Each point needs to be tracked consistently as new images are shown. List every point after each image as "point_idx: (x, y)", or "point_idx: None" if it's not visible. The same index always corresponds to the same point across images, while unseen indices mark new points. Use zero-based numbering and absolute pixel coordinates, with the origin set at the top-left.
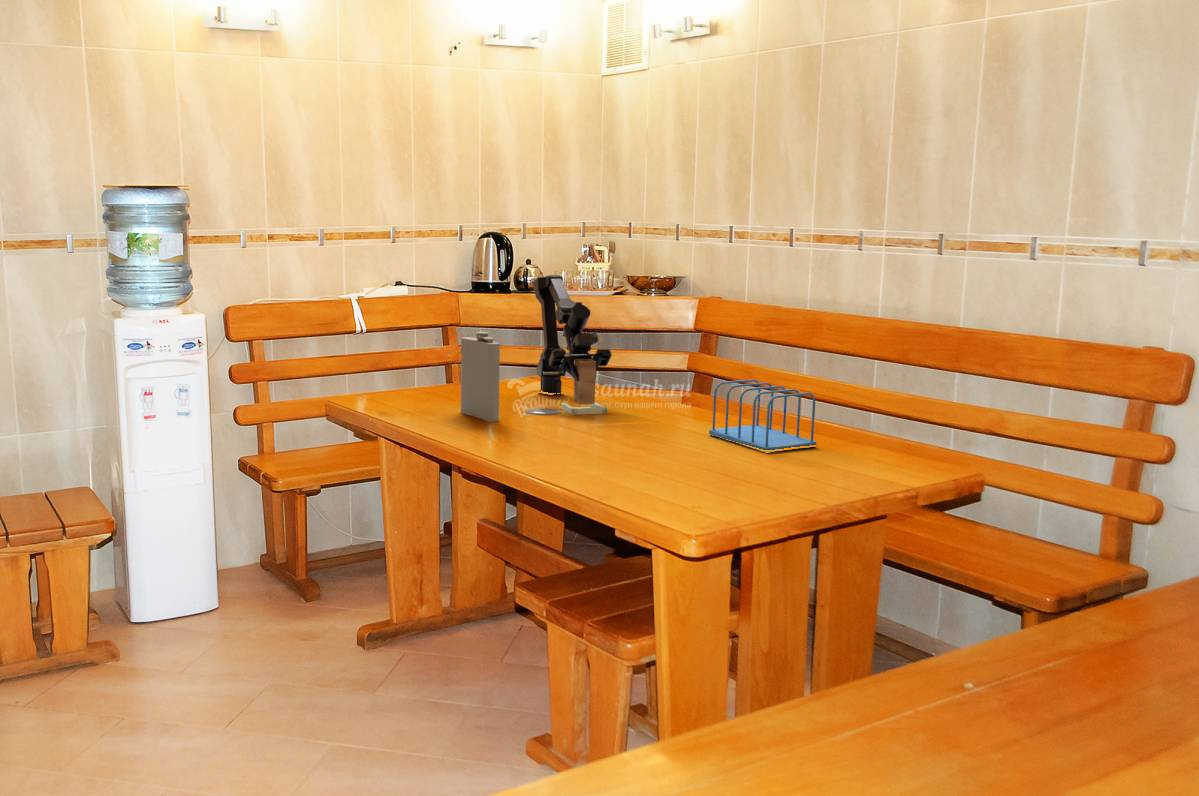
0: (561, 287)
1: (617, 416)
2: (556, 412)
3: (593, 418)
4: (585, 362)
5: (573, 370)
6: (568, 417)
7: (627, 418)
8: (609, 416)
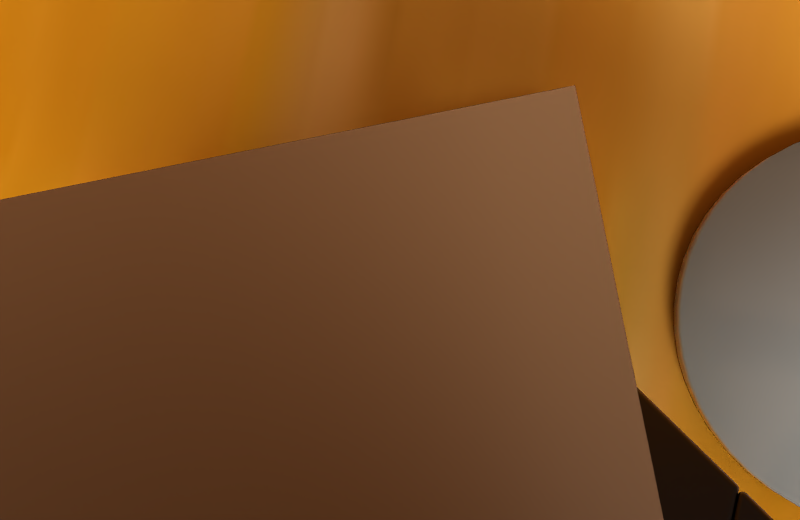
0: None
1: (137, 150)
2: (735, 258)
3: (378, 53)
4: (228, 164)
5: (712, 464)
6: (617, 103)
7: (74, 54)
8: (209, 151)
